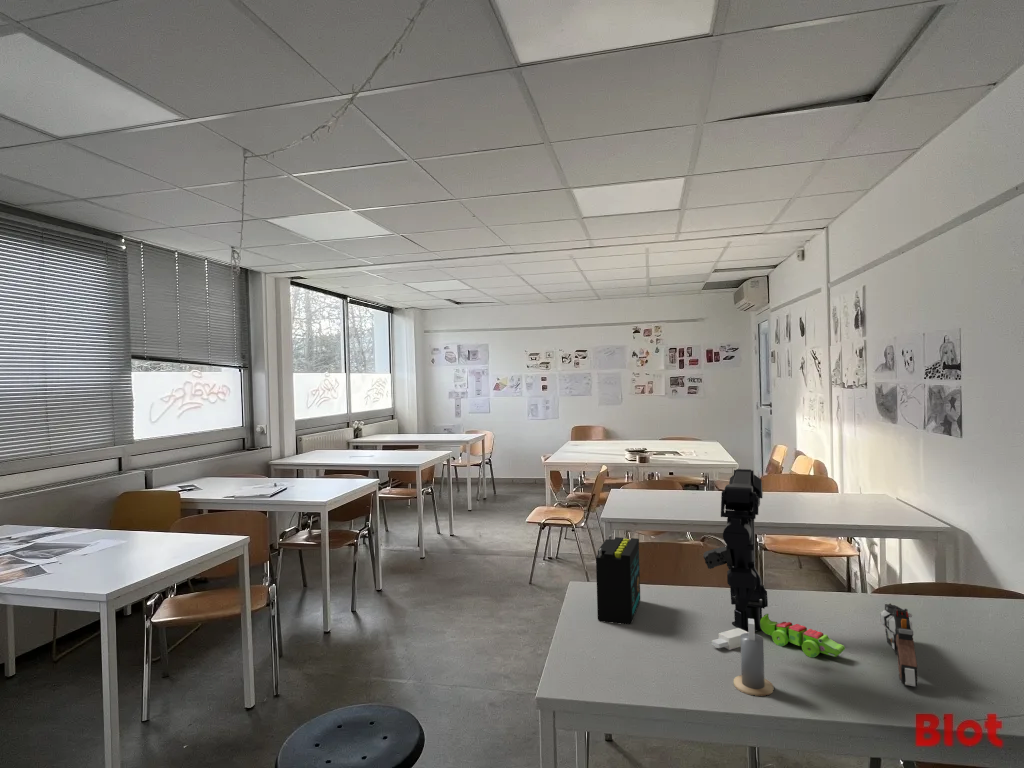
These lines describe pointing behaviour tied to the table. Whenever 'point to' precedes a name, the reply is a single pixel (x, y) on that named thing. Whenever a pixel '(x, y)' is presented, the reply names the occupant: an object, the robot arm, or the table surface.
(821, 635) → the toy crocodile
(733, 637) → the small lying plug
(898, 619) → the toy gun
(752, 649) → the grey plug
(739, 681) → the cork coaster
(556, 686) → the table surface
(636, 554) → the battery
